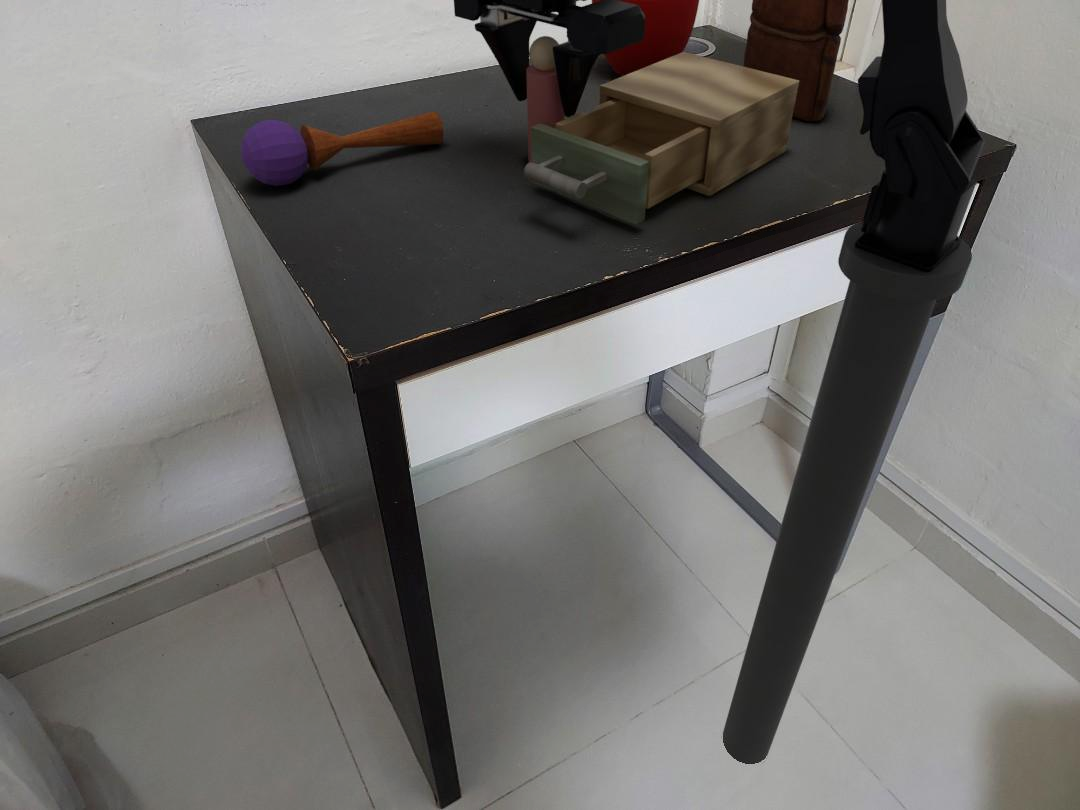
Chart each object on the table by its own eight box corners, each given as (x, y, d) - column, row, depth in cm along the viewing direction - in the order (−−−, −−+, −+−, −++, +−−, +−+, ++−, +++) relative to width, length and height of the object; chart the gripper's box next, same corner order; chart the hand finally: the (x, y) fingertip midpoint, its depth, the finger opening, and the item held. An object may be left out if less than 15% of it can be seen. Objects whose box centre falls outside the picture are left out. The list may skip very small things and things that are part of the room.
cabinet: (709, 196, 73) (719, 120, 68) (597, 156, 80) (599, 85, 75) (785, 151, 80) (799, 80, 76) (676, 118, 87) (683, 51, 83)
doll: (571, 160, 79) (573, 36, 72) (547, 171, 78) (545, 45, 70) (545, 150, 81) (544, 28, 74) (521, 161, 79) (517, 37, 72)
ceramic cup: (728, 60, 102) (740, -26, 96) (651, 95, 93) (659, 3, 86) (647, 41, 109) (653, -41, 103) (568, 72, 100) (569, -16, 93)
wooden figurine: (845, 112, 88) (889, -74, 76) (812, 127, 85) (853, -64, 73) (757, 86, 95) (785, -88, 83) (724, 99, 92) (749, -80, 80)
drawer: (604, 243, 65) (607, 182, 61) (499, 197, 71) (496, 140, 68) (719, 177, 74) (727, 121, 70) (616, 142, 80) (619, 89, 77)
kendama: (451, 114, 79) (250, 145, 70) (447, 167, 83) (257, 203, 74) (424, 86, 82) (228, 112, 73) (422, 139, 86) (237, 169, 77)
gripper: (692, -81, 65) (674, 108, 75) (530, -104, 75) (534, 66, 85) (605, -60, 59) (598, 143, 69) (442, -87, 69) (457, 93, 79)
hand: (545, 107), depth 76 cm, fingers open, 6 cm apart
